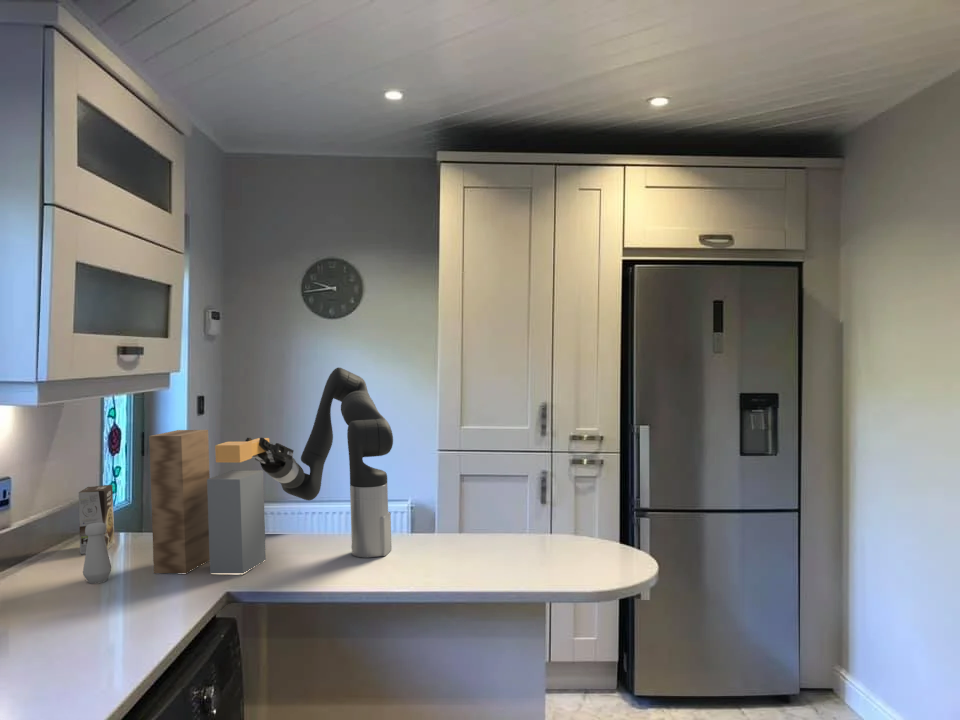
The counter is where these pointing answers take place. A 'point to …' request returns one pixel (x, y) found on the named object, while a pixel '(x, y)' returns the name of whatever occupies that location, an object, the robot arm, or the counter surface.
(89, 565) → the salt shaker
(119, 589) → the counter surface
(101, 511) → the coffee box
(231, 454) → the orange block
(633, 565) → the counter surface
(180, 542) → the tall wooden block
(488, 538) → the counter surface
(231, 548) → the block
